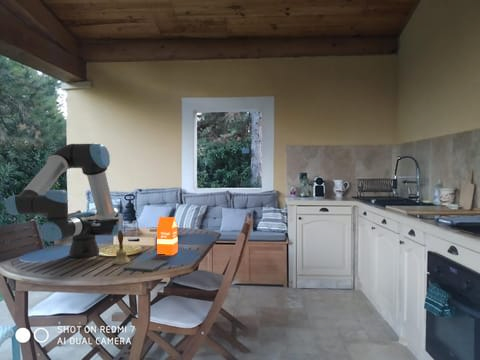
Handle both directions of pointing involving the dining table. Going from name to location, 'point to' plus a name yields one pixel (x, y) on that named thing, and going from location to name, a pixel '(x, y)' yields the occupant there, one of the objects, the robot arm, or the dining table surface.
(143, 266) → the place mat
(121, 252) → the hand bell
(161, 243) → the orange juice
